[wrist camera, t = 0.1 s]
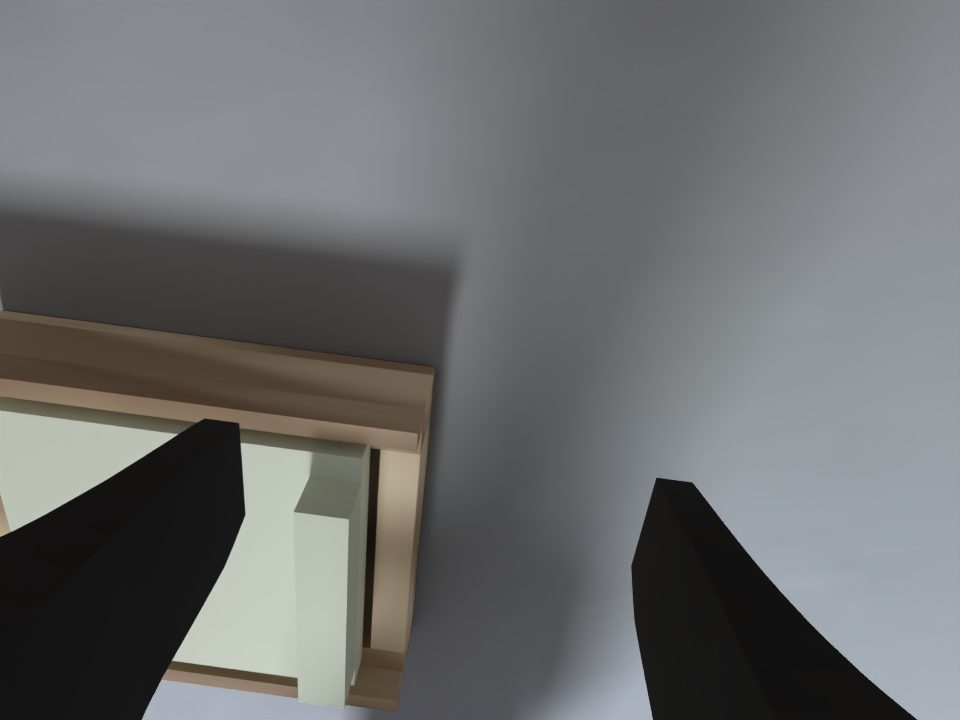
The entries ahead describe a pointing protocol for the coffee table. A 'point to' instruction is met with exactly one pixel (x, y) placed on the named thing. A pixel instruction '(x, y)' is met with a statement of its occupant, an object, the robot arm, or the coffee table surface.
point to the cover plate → (258, 547)
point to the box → (265, 407)
